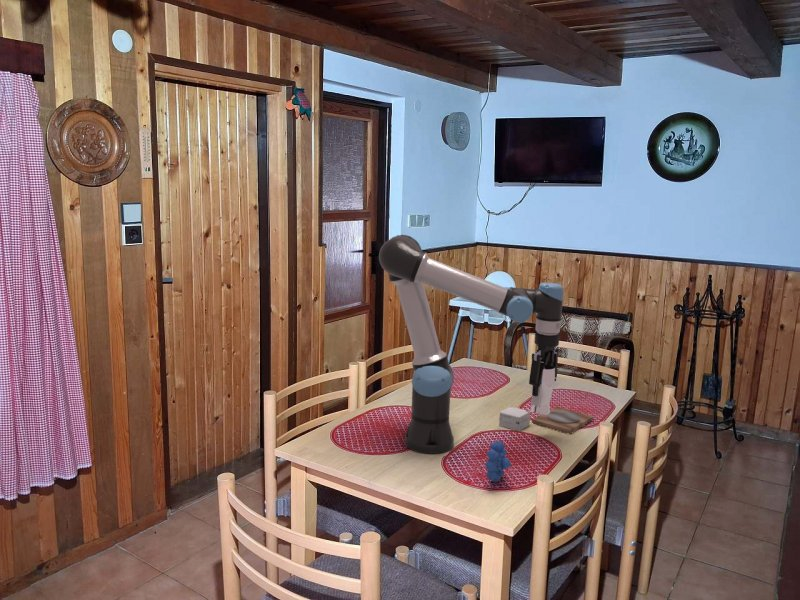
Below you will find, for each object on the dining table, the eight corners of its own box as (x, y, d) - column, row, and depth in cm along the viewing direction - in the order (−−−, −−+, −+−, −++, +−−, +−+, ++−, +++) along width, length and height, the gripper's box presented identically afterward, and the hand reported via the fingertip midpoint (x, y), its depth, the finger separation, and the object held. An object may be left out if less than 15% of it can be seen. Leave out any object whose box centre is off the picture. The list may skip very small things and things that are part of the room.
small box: (498, 426, 222) (499, 411, 221) (509, 420, 228) (510, 405, 227) (518, 432, 217) (519, 417, 216) (530, 425, 223) (531, 411, 222)
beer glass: (550, 408, 215) (554, 364, 212) (552, 416, 208) (557, 370, 205) (528, 407, 215) (532, 362, 213) (530, 414, 209) (534, 368, 206)
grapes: (503, 494, 173) (505, 451, 171) (478, 488, 176) (481, 445, 174) (516, 477, 183) (519, 436, 181) (493, 472, 186) (495, 431, 184)
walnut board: (569, 434, 216) (570, 428, 216) (532, 423, 225) (532, 417, 225) (593, 420, 230) (593, 414, 229) (556, 410, 238) (557, 405, 238)
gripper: (543, 339, 197) (536, 412, 201) (572, 330, 212) (566, 398, 216) (521, 334, 202) (515, 406, 206) (551, 326, 217) (545, 393, 221)
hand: (541, 402), depth 211 cm, fingers closed on beer glass, 7 cm apart
